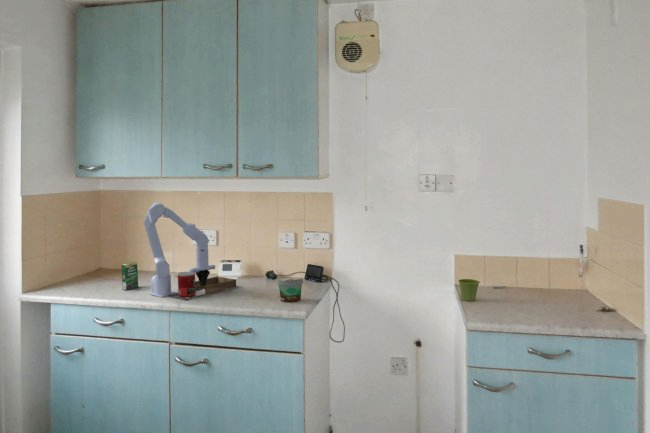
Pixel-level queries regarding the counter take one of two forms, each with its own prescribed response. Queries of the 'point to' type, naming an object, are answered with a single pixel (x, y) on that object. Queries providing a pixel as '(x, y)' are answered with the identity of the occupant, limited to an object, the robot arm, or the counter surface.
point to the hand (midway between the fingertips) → (202, 285)
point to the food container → (290, 290)
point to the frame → (185, 298)
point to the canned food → (186, 284)
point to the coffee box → (129, 276)
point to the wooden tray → (216, 284)
